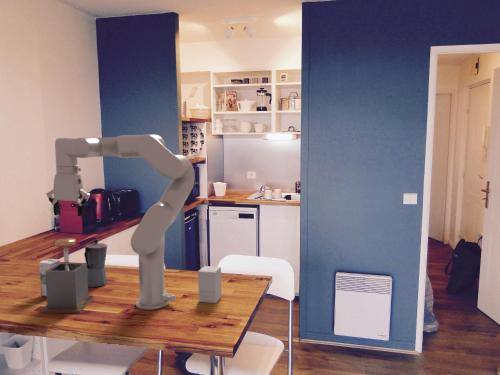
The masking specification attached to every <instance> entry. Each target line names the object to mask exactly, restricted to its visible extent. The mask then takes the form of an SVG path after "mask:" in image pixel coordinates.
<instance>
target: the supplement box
mask: <svg viewBox="0 0 500 375" xmlns="http://www.w3.org/2000/svg"><path fill="white" fill-rule="evenodd" d="M197 273H198V274H197V280H198V281H197V282H198V286H197V287H198V302H201V303H210V304H216V303H217V302H218V301H219V300H221V298H222V267H221V266H211V265H210V266H209V265H205V266H203V267H201V268H200V269H199V270H197Z"/></svg>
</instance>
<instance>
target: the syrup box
mask: <svg viewBox="0 0 500 375" xmlns="http://www.w3.org/2000/svg"><path fill="white" fill-rule="evenodd" d="M58 263H61V260H60V259H56V258H55V259H54V258H46V259H43V260H41V261H39V262H38V264H39V277H40V291H41V292H40V293H41V296H42V297H46V298H47V291H46V273H45V272H46V271H47V270H49V269H50V268H52V267H53V266H55V265H57V264H58Z"/></svg>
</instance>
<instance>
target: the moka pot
mask: <svg viewBox="0 0 500 375" xmlns="http://www.w3.org/2000/svg"><path fill="white" fill-rule="evenodd" d="M107 249H108V245H107V244H106V243H104V242H99V240H98V239H94V243H91V244H90V243H89V244H86V245H85V246H84V253H83V254H84V255H83V256H84V258H85V259H84V260H85V263H87V277H88V288H89V287H90V288H97V287H103V286H105V285H107V283H108V280H107V275H106V267H105V266H106V260H107V259H106V257H107Z"/></svg>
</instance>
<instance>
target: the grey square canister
mask: <svg viewBox="0 0 500 375" xmlns="http://www.w3.org/2000/svg"><path fill="white" fill-rule="evenodd" d="M45 273H46V291H47V297H46V304H47V305H45V306H44V307H43V308H41V309H40V310H41V313H45V314H46V313H50V314H52V313H53V314H54V313H55V314H56V313H58V314H60V313H61V314H62V313H65V314H67V313H69V314H79V313H81V312H82V311H83V310H84V309H85V308H86V307H87V306H88V305H89V304H90V303H91V302H92V301H93V300H94V297H95V296H94V295H89V286H88V277H87V263H86V262H69V271H65V267H64V262H60V263H58V264H57V265H55V266H53V267H52V268H50V269H49V270H47V271H46V272H45Z"/></svg>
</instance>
